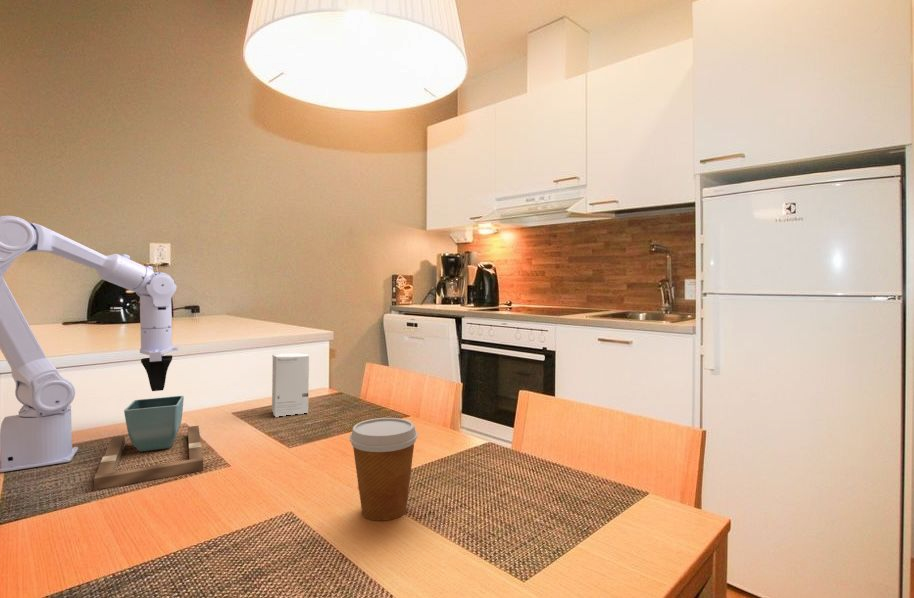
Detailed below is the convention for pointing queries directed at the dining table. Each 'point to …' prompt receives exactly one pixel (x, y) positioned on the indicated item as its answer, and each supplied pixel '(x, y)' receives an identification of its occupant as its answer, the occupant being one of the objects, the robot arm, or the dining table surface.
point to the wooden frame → (110, 461)
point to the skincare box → (290, 384)
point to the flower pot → (154, 422)
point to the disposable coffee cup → (383, 465)
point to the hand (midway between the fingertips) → (157, 390)
